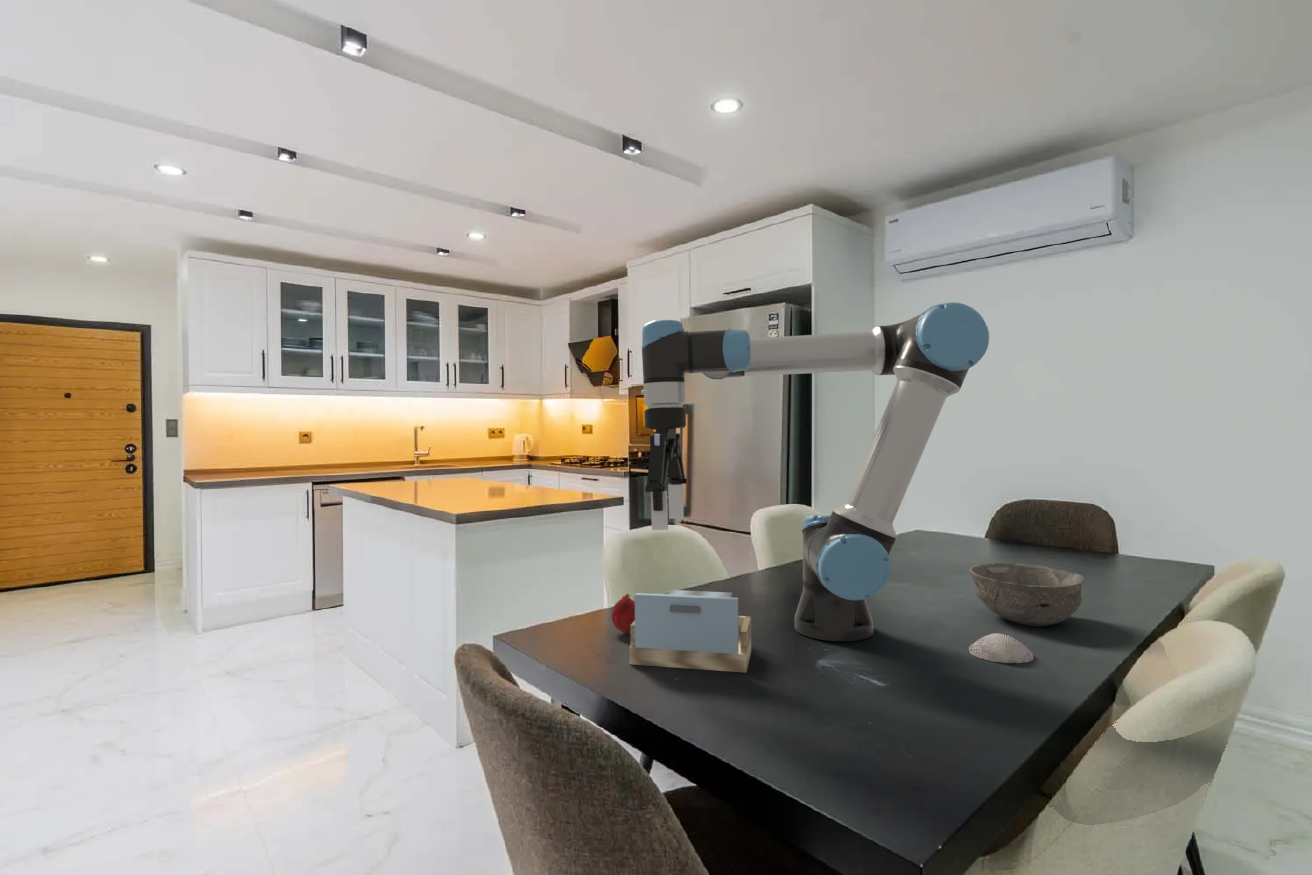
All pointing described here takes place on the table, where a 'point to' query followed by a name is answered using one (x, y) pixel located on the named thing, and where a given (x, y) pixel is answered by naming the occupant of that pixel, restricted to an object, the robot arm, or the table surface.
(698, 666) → the open wooden box
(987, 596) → the bowl
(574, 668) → the table surface
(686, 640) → the panel
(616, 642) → the table surface
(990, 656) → the seashell
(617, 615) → the onion
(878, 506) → the robot arm
